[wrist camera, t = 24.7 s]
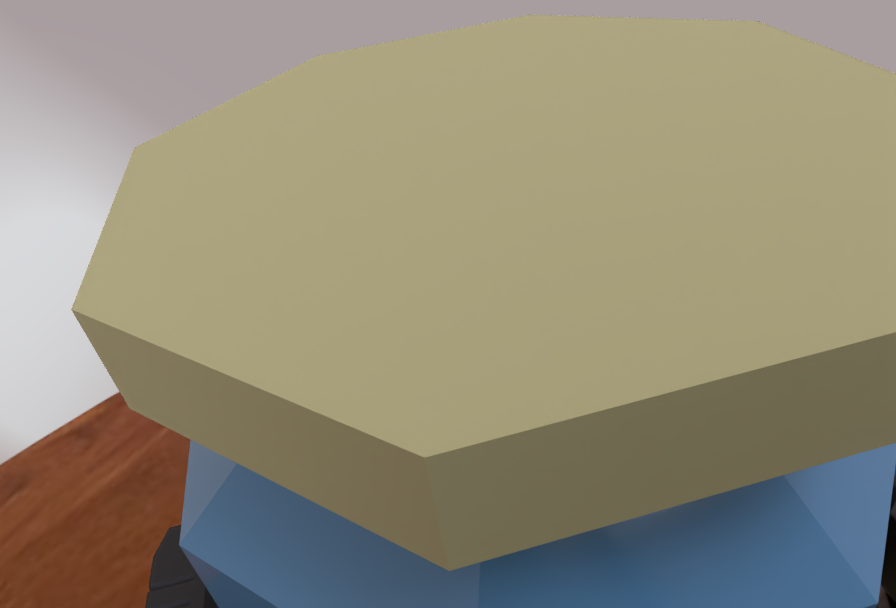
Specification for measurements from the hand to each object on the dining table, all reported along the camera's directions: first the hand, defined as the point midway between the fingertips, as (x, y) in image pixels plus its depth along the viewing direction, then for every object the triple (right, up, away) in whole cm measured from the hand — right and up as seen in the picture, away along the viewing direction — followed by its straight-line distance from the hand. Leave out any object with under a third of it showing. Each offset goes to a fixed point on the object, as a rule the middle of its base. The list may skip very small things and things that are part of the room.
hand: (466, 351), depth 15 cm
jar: (+2, -9, +1) cm, 9 cm away
